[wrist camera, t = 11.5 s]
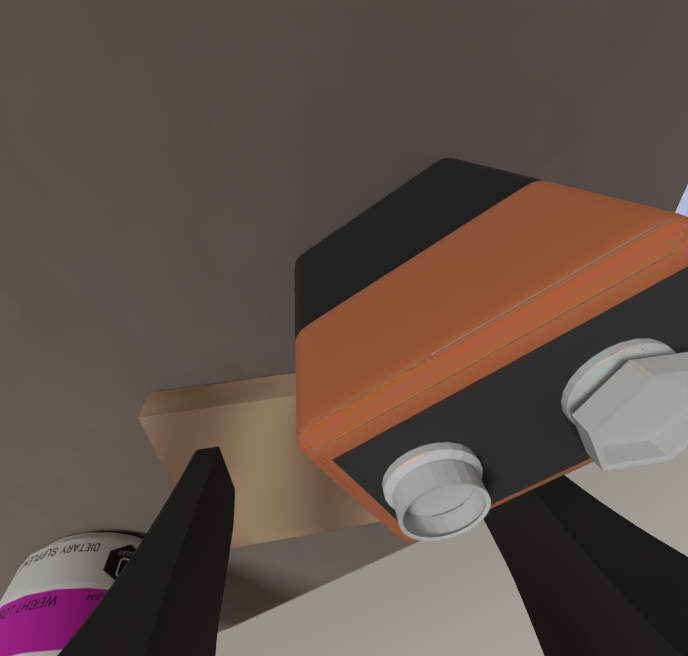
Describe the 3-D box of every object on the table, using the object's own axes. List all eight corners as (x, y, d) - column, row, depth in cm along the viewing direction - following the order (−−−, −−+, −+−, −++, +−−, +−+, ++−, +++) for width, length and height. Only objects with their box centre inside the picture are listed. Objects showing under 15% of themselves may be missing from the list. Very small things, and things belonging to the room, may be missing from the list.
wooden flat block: (492, 346, 17) (509, 365, 16) (463, 483, 23) (474, 504, 22) (149, 392, 16) (137, 417, 14) (212, 526, 22) (208, 552, 20)
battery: (491, 250, 14) (787, 446, 6) (349, 337, 16) (418, 604, 7) (448, 149, 12) (814, 220, 4) (288, 259, 13) (280, 503, 5)
